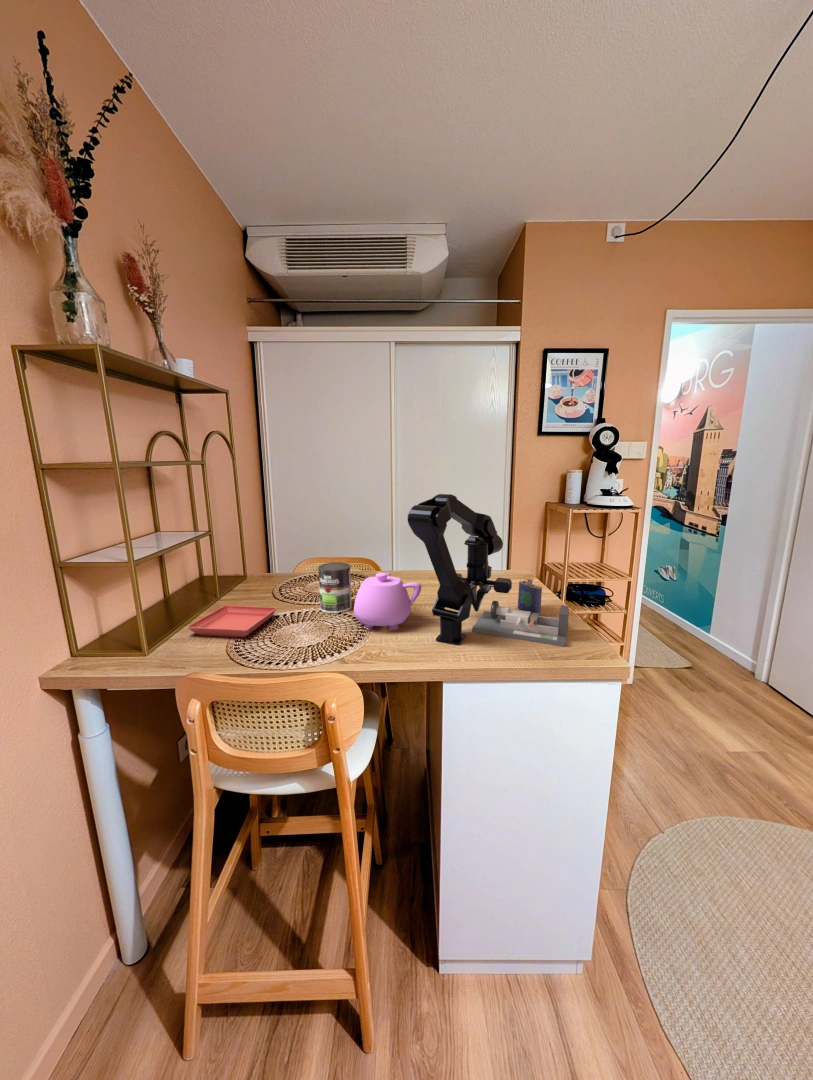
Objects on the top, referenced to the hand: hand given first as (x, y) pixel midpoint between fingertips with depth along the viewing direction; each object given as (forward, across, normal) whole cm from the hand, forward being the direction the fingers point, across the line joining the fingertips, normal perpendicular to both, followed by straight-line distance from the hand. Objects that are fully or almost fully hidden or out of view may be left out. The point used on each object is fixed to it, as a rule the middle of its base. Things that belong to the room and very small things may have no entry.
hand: (476, 610), depth 118 cm
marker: (+2, -16, +2) cm, 16 cm away
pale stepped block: (+2, -10, +2) cm, 10 cm away
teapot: (+4, +24, +8) cm, 26 cm away
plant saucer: (+4, +64, +29) cm, 71 cm away
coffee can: (+4, +45, +5) cm, 46 cm away
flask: (+4, -13, -14) cm, 20 cm away
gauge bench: (+4, -13, 0) cm, 13 cm away
